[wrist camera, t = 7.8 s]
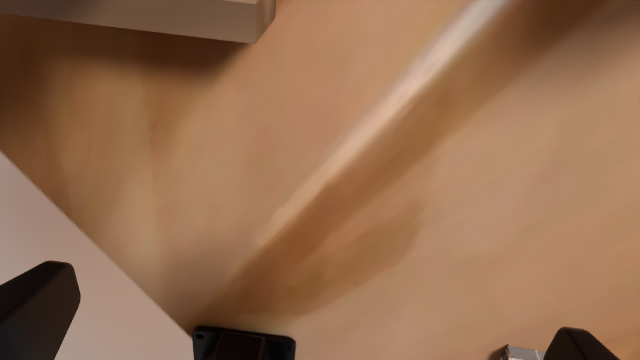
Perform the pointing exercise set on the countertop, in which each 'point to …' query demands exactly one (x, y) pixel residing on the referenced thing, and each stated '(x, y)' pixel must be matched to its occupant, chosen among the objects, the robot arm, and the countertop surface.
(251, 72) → the countertop surface
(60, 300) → the robot arm
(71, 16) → the slot block
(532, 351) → the house of cards
